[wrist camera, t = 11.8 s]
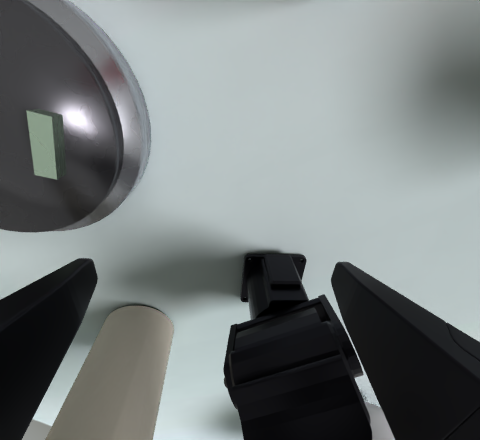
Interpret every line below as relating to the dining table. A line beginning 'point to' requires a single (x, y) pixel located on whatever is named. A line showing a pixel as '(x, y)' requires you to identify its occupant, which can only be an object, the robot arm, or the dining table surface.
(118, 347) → the travel mug
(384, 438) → the jar
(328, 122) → the dining table surface
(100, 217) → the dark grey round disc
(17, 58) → the dial
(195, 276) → the dining table surface
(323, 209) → the dining table surface
